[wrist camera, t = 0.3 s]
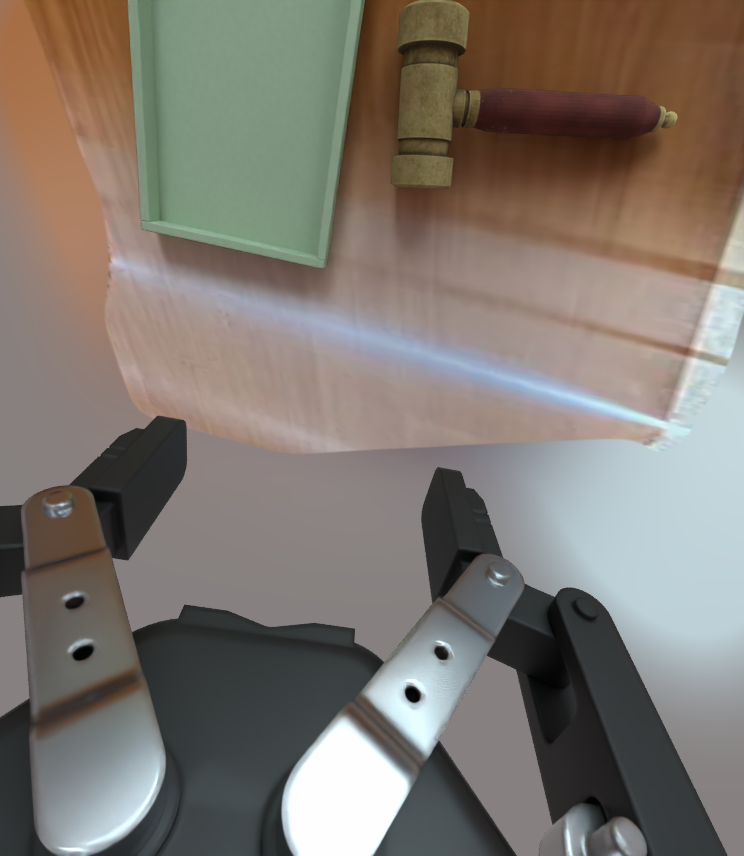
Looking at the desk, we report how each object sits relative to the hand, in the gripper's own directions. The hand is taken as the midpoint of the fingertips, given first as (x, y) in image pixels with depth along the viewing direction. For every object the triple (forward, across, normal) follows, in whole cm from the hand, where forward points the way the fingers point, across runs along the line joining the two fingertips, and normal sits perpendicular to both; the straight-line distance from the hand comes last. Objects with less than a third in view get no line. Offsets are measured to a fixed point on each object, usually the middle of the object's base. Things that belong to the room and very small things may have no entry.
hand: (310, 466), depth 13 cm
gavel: (+29, -11, -15) cm, 34 cm away
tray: (+29, +10, -14) cm, 34 cm away
